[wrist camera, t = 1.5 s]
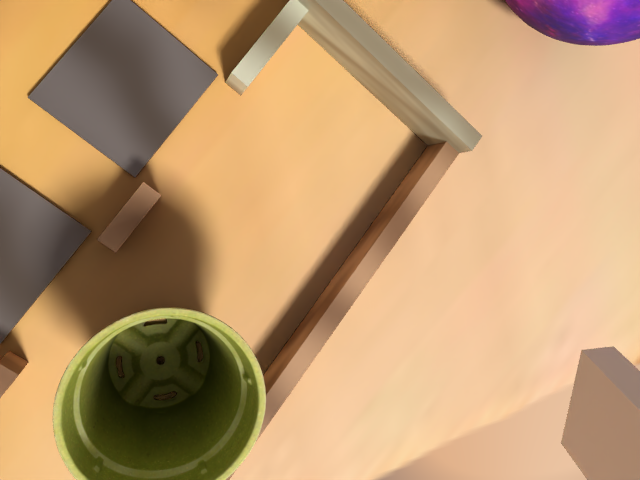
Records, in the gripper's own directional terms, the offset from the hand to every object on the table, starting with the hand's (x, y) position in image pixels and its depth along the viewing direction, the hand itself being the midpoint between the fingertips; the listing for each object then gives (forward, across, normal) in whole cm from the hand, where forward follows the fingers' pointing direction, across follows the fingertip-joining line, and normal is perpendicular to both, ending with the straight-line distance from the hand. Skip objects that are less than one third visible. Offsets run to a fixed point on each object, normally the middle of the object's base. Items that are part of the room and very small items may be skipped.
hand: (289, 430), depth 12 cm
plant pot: (+19, -7, -12) cm, 24 cm away
